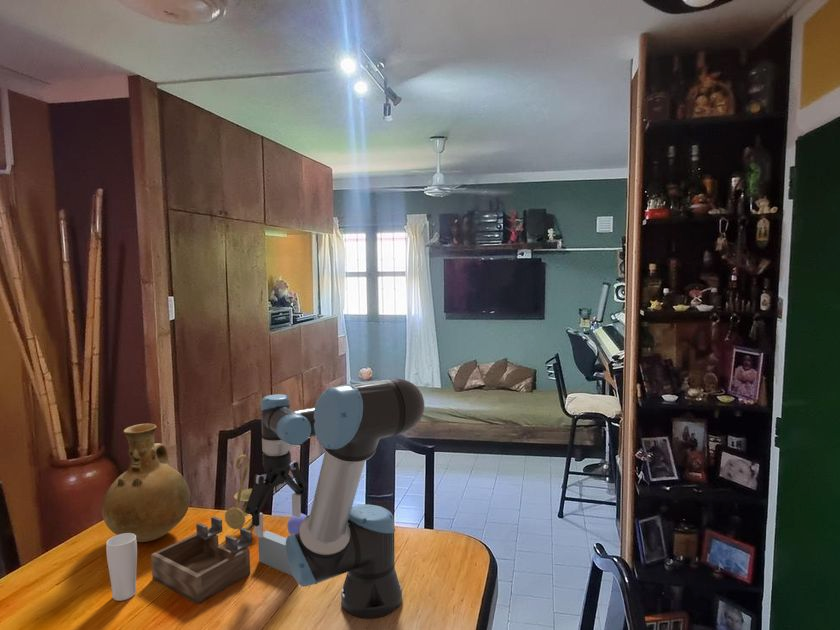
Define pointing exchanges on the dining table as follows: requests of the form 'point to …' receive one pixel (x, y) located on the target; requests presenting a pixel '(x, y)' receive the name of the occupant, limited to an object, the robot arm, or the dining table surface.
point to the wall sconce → (235, 515)
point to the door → (274, 552)
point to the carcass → (203, 562)
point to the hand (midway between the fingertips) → (278, 525)
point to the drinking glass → (122, 565)
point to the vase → (146, 490)
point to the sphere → (295, 523)
